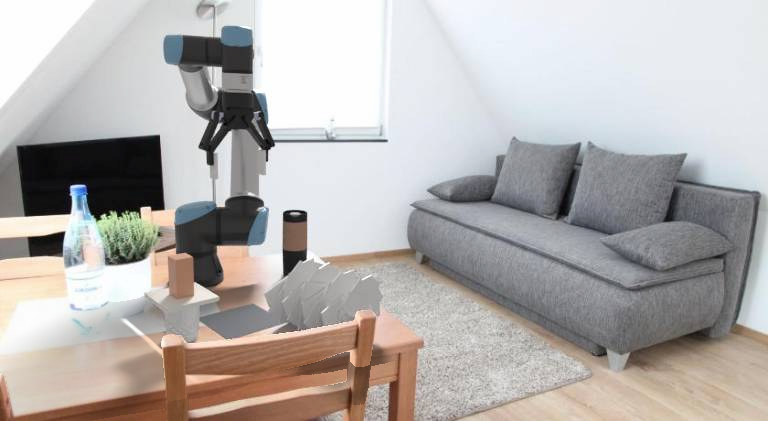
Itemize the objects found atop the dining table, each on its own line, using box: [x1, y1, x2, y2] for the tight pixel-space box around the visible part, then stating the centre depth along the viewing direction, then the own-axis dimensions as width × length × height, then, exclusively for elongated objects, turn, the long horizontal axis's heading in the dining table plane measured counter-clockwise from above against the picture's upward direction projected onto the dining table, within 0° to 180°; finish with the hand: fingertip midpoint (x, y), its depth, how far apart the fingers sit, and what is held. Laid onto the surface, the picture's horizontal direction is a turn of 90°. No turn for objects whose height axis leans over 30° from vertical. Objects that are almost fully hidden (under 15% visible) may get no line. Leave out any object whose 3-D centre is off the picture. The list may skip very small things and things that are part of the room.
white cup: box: [163, 305, 201, 343], centre depth 127 cm, size 8×8×10 cm
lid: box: [144, 253, 220, 314], centre depth 125 cm, size 12×12×10 cm
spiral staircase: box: [264, 257, 384, 332], centre depth 132 cm, size 18×18×25 cm
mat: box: [200, 302, 285, 340], centre depth 138 cm, size 16×16×1 cm
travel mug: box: [281, 209, 308, 277], centre depth 174 cm, size 8×8×20 cm
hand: (238, 176), depth 142 cm, fingers open, 13 cm apart
